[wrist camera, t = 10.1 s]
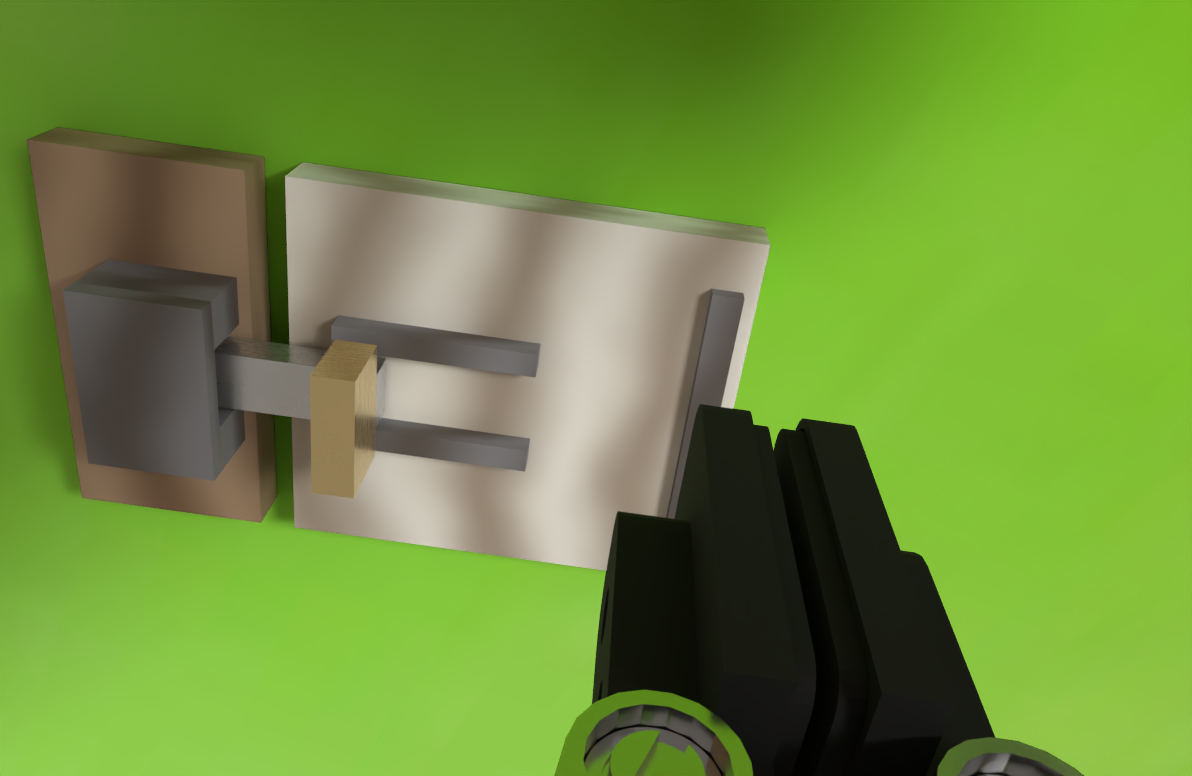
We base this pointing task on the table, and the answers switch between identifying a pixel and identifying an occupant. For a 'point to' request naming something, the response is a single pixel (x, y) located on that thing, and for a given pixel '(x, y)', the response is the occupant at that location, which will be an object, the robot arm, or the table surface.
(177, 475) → the door and frame
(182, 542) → the table surface
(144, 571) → the table surface
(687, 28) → the table surface
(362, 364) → the bolt
